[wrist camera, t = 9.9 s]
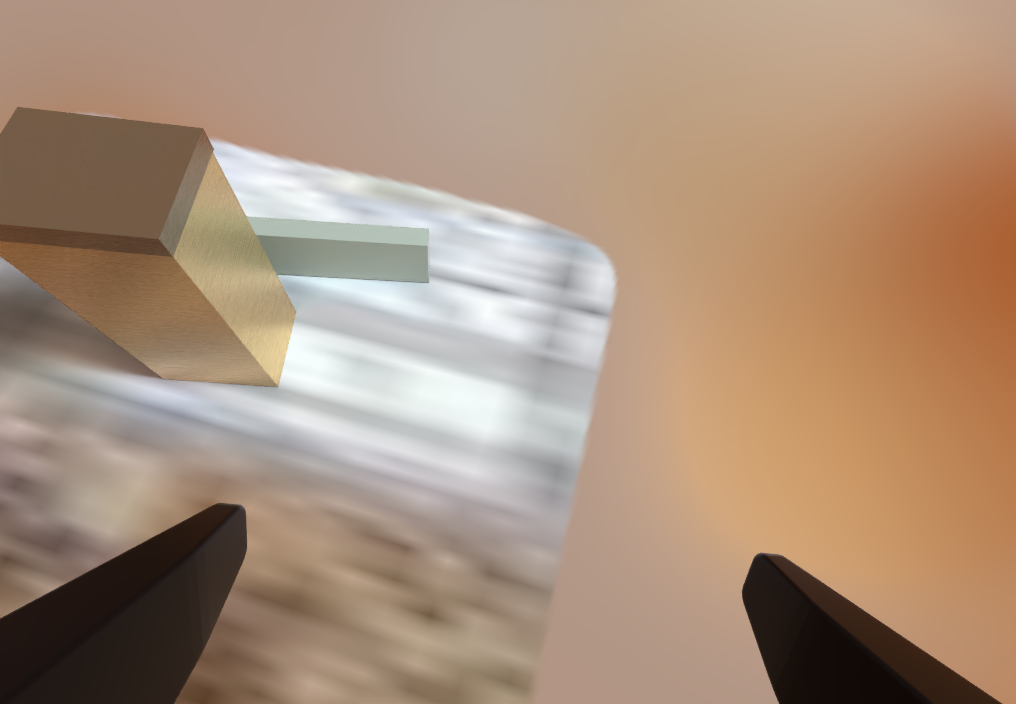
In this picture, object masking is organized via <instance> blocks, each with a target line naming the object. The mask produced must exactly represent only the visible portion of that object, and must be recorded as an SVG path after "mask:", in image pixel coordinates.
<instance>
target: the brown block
mask: <svg viewBox="0 0 1016 704" xmlns="http://www.w3.org/2000/svg"><path fill="white" fill-rule="evenodd" d="M213 150H214V149H213V147H212V145H211V143H210V141H209V139H208V137H207V135H206V133H205V131H204V129H203V128H194V127H186V126H178V125H169V124H160V123H152V122H143V121H135V120H126V119H117V118H109V117H100V116H91V115H83V114H74V113H65V112H57V111H47V110H39V109H31V108H22V107H17V109H16V110H15V112H14V113H13V115H12V117H11V118H10V120H9V121H8V123H7V125H6V126H5V128H4V129H3V131H2V133H1V134H0V256H1V257H2V258H4V259H5V260H6V261H8V262H9V263H10V264H11V265H13V266H14V267H15V268H17V269H18V270H19V271H21V272H22V273H23V274H25V275H26V276H27V277H29V278H30V279H31V280H33V281H34V282H35V283H37V284H38V285H39V286H41V287H42V288H43V289H45V290H46V291H47V292H49V293H50V294H51V295H53V296H54V297H55V298H57V299H58V300H59V301H61V302H62V303H63V304H65V305H66V306H67V307H69V308H70V309H71V310H73V311H74V312H75V313H77V314H78V315H79V316H81V317H82V318H83V319H85V320H86V321H87V322H89V323H90V324H91V325H93V326H94V327H95V328H97V329H98V330H99V331H101V332H102V333H103V334H105V335H106V336H107V337H109V338H110V339H111V340H113V341H114V342H115V343H117V344H118V345H119V346H121V347H122V348H123V349H125V350H126V351H127V352H129V353H130V354H131V355H133V356H134V357H135V358H137V359H138V360H139V361H141V362H142V363H143V364H144V365H146V366H147V367H148V368H150V369H151V370H152V371H154V372H155V373H156V374H158V375H159V376H160V377H162V378H163V379H169V380H184V381H199V382H214V383H228V384H243V385H258V386H273V387H278V386H279V382H280V377H281V373H282V369H283V365H284V361H285V356H286V352H287V348H288V344H289V340H290V335H291V331H292V327H293V323H294V319H295V314H296V311H295V309H294V307H293V305H292V303H291V301H290V299H289V297H288V295H287V293H286V292H285V290H284V288H283V286H282V284H281V282H280V280H279V278H278V276H277V274H276V272H275V270H274V269H273V267H272V265H271V263H270V261H269V259H268V257H267V255H266V253H265V251H264V249H263V247H262V246H261V244H260V242H259V240H258V238H257V236H256V234H255V232H254V230H253V228H252V226H251V224H250V223H249V221H248V219H247V217H246V215H245V213H244V211H243V209H242V207H241V205H240V203H239V202H238V200H237V198H236V196H235V194H234V192H233V190H232V188H231V186H230V184H229V182H228V180H227V179H226V177H225V175H224V173H223V171H222V169H221V167H220V165H219V163H218V161H217V159H216V157H215V156H214V154H213Z"/></svg>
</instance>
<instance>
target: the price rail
mask: <svg viewBox="0 0 1016 704" xmlns="http://www.w3.org/2000/svg"><path fill="white" fill-rule="evenodd" d="M246 217H247V216H246ZM247 219H248V221H249V223H250V224H251V226H252V228H253V230H254V232H255V234H256V236H257V238H258V240H259V242H260V244H261V246H262V247H263V249H264V251H265V253H266V255H267V257H268V259H269V261H270V263H271V265H272V267H273V269H274V270H275V272H276V274H283V275H300V276H318V277H336V278H354V279H372V280H390V281H408V282H426V283H429V273H430V254H429V229H423V228H408V227H394V226H379V225H364V224H350V223H335V222H320V221H306V220H291V219H276V218H262V217H247Z"/></svg>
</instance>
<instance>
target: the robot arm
mask: <svg viewBox="0 0 1016 704" xmlns="http://www.w3.org/2000/svg"><path fill="white" fill-rule="evenodd" d="M246 550H247V529H246V511H245V508H244V507H243V506H242V505H238V504H227V503H217V504H215V505H213V506H211V507H209V508H207V509H205V510H203V511H201V512H199V513H198V514H196V515H194V516H192V517H190V518H188V519H186V520H184V521H183V522H181V523H179V524H177V525H175V526H173V527H171V528H169V529H167V530H166V531H164V532H162V533H160V534H158V535H156V536H154V537H152V538H151V539H149V540H147V541H145V542H143V543H141V544H139V545H137V546H136V547H134V548H132V549H130V550H128V551H126V552H124V553H122V554H120V555H119V556H117V557H115V558H113V559H111V560H109V561H107V562H105V563H104V564H102V565H100V566H98V567H96V568H94V569H92V570H90V571H89V572H87V573H85V574H83V575H81V576H79V577H77V578H75V579H73V580H72V581H70V582H68V583H66V584H64V585H62V586H60V587H58V588H57V589H55V590H53V591H51V592H49V593H47V594H45V595H43V596H42V597H40V598H38V599H36V600H34V601H32V602H30V603H28V604H26V605H25V606H23V607H21V608H19V609H17V610H15V611H13V612H11V613H10V614H8V615H6V616H4V617H2V618H0V704H174V702H175V700H176V699H177V697H178V695H179V693H180V692H181V690H182V688H183V686H184V685H185V683H186V681H187V679H188V678H189V676H190V674H191V672H192V670H193V669H194V667H195V665H196V663H197V661H198V660H199V658H200V656H201V654H202V652H203V650H204V648H205V646H206V644H207V642H208V640H209V637H210V635H211V633H212V631H213V629H214V626H215V624H216V622H217V619H218V617H219V615H220V613H221V610H222V608H223V606H224V604H225V601H226V599H227V597H228V594H229V592H230V590H231V588H232V585H233V583H234V581H235V579H236V576H237V574H238V572H239V570H240V567H241V565H242V563H243V560H244V558H245V554H246ZM742 598H743V602H744V605H745V609H746V612H747V615H748V617H749V620H750V623H751V626H752V629H753V632H754V635H755V638H756V641H757V644H758V647H759V650H760V653H761V656H762V659H763V662H764V665H765V667H766V670H767V673H768V676H769V679H770V681H771V684H772V687H773V690H774V692H775V695H776V697H777V699H778V702H779V704H1002V703H1000V702H999V701H997V700H996V699H995V698H993V697H992V696H990V695H989V694H987V693H986V692H984V691H983V690H981V689H980V688H978V687H977V686H975V685H974V684H972V683H970V682H969V681H968V680H966V679H965V678H963V677H962V676H960V675H959V674H957V673H956V672H954V671H953V670H951V669H950V668H948V667H947V666H945V665H944V664H943V663H941V662H940V661H938V660H937V659H935V658H933V657H932V656H931V655H929V654H928V653H926V652H925V651H923V650H922V649H920V648H919V647H917V646H915V645H914V644H913V643H911V642H910V641H908V640H907V639H905V638H904V637H902V636H901V635H900V634H898V633H896V632H895V631H893V630H892V629H891V628H889V627H888V626H886V625H885V624H883V623H882V622H880V621H879V620H877V619H876V618H874V617H873V616H871V615H870V614H868V613H867V612H865V611H864V610H862V609H861V608H859V607H858V606H856V605H855V604H854V603H852V602H851V601H849V600H848V599H846V598H845V597H843V596H842V595H840V594H838V593H837V592H836V591H834V590H833V589H831V588H830V587H828V586H827V585H825V584H824V583H822V582H821V581H819V580H818V579H816V578H815V577H813V576H812V575H810V574H809V573H808V572H806V571H804V570H803V569H802V568H800V567H799V566H797V565H796V564H794V563H793V562H791V561H790V560H788V559H786V558H785V557H784V556H781V555H778V554H769V553H759V554H757V555H756V556H755V557H754V559H753V561H752V564H751V567H750V569H749V572H748V575H747V577H746V580H745V583H744V585H743V589H742Z"/></svg>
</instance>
